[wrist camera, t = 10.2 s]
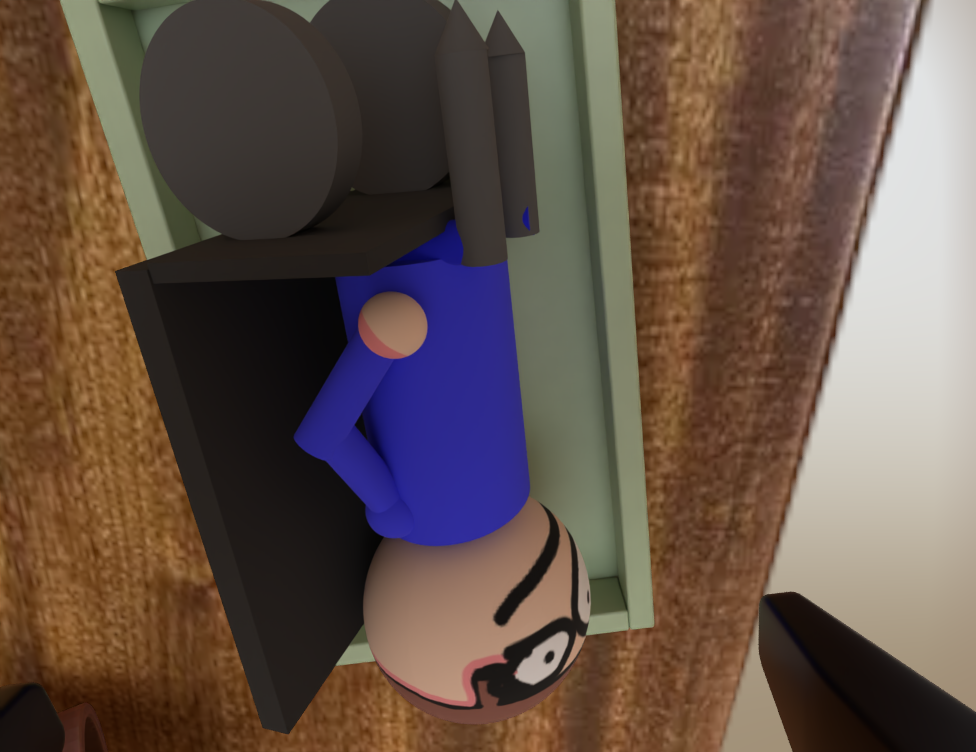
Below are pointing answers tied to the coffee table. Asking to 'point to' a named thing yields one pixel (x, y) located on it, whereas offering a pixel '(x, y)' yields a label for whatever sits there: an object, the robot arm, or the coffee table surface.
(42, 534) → the coffee table surface
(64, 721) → the binoculars
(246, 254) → the character figurine
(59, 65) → the coffee table surface
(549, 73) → the tray
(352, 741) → the coffee table surface
